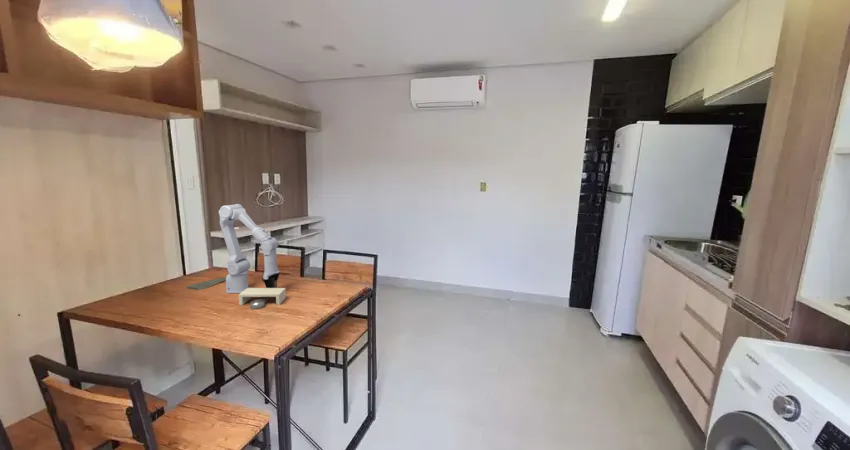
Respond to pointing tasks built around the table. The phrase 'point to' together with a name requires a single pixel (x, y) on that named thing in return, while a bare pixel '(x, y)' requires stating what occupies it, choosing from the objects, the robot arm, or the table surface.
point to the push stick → (273, 287)
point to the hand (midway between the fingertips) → (271, 288)
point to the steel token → (257, 304)
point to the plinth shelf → (263, 294)
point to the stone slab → (206, 284)
